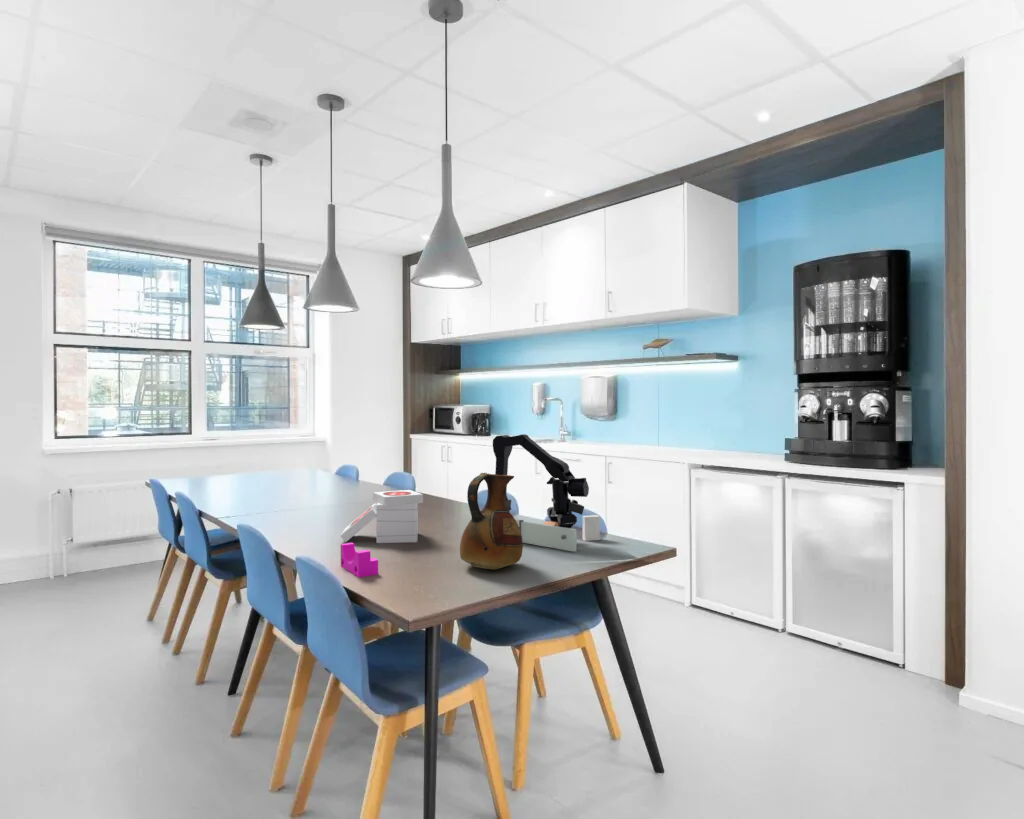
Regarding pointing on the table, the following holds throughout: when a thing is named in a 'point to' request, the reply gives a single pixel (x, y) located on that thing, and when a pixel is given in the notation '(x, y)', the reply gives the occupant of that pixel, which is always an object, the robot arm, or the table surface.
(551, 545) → the door
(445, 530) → the table surface
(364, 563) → the toy block
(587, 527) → the white small block
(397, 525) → the pizza boxes
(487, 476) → the ceramic pitcher
